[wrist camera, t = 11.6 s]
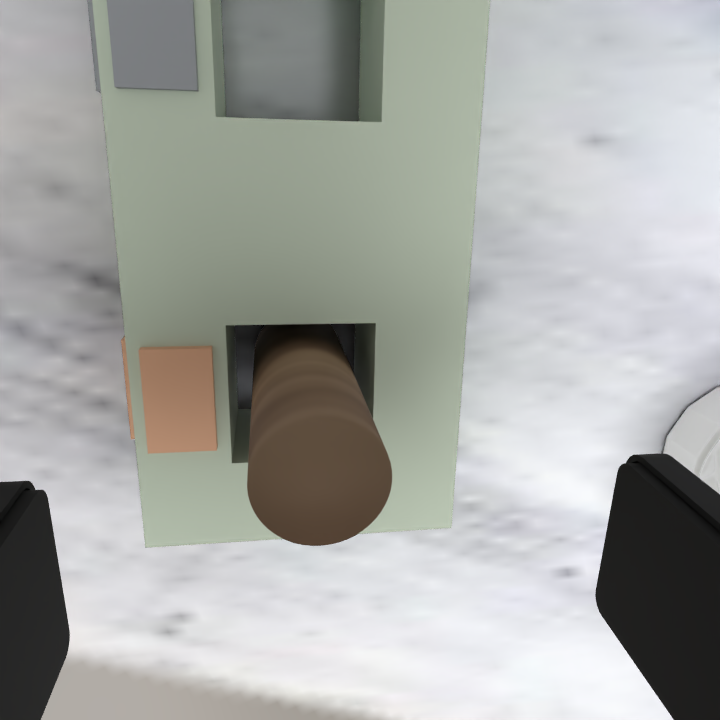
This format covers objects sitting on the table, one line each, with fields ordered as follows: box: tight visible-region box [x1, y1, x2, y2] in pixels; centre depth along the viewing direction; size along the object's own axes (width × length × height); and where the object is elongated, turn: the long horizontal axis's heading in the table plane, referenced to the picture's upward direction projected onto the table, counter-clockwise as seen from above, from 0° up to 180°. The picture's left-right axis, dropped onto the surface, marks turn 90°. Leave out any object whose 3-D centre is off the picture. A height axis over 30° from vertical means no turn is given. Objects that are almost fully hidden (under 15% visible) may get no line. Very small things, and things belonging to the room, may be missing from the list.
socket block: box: [87, 0, 490, 548], centre depth 19 cm, size 20×10×5 cm, turn 179°
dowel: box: [247, 324, 392, 546], centre depth 18 cm, size 3×3×10 cm
